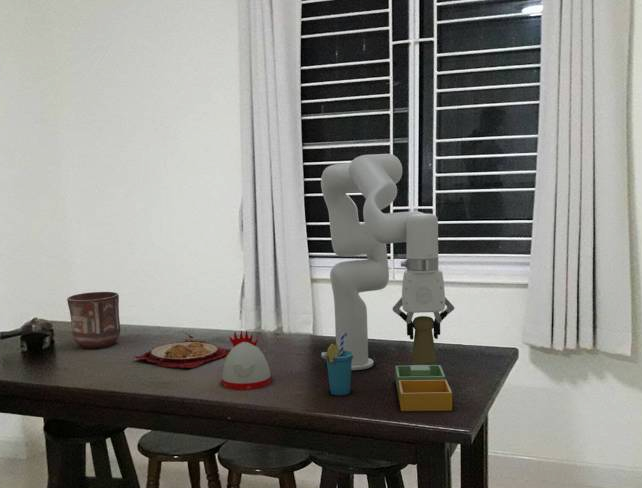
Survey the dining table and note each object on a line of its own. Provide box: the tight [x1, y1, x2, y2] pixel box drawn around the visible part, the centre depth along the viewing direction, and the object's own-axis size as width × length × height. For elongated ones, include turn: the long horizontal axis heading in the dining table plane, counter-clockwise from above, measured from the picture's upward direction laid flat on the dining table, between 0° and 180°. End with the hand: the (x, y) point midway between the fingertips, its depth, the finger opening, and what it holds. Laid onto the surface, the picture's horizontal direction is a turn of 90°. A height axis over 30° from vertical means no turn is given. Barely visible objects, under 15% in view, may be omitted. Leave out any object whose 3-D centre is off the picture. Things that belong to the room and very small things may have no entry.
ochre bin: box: [397, 379, 453, 412], centre depth 190 cm, size 12×11×4 cm
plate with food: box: [133, 334, 232, 369], centre depth 249 cm, size 24×26×3 cm
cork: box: [411, 315, 437, 364], centre depth 188 cm, size 6×6×11 cm
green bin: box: [394, 364, 446, 392], centre depth 204 cm, size 12×11×4 cm
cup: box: [325, 333, 353, 396], centre depth 203 cm, size 14×8×15 cm, turn 159°
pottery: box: [66, 291, 121, 350], centre depth 271 cm, size 18×18×18 cm
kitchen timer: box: [221, 330, 272, 390], centre depth 216 cm, size 14×14×15 cm
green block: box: [409, 364, 430, 376], centre depth 203 cm, size 5×5×5 cm
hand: (423, 337), depth 188 cm, fingers closed on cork, 5 cm apart
